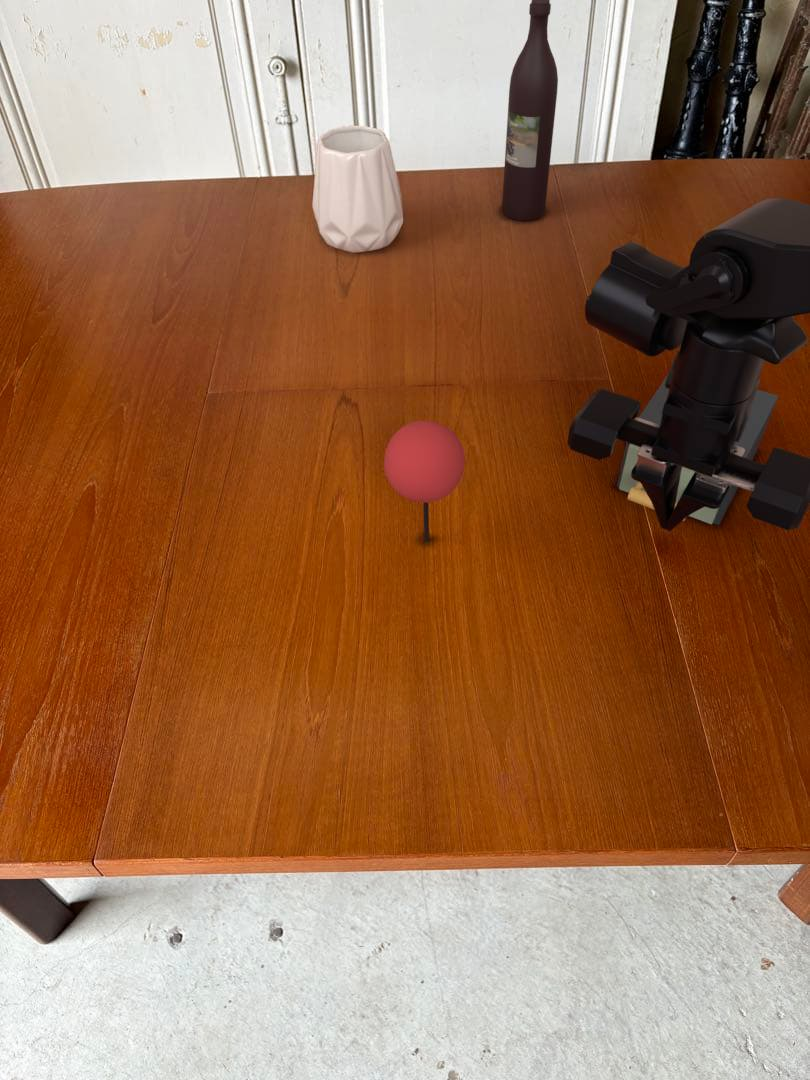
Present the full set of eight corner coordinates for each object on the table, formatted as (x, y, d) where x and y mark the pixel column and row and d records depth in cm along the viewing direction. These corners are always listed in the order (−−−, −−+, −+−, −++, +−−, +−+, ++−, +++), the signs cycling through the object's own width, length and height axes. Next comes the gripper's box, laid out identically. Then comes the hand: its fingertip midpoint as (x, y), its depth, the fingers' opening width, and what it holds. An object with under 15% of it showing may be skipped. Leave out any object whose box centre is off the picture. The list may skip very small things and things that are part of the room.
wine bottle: (496, 205, 136) (507, -4, 114) (536, 199, 137) (555, -10, 115) (509, 224, 131) (524, 11, 109) (551, 218, 132) (574, 5, 110)
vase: (298, 245, 129) (285, 147, 118) (348, 208, 137) (340, 112, 125) (372, 267, 124) (365, 167, 112) (420, 227, 132) (418, 130, 120)
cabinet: (718, 525, 87) (739, 470, 81) (616, 486, 91) (629, 431, 85) (756, 451, 94) (778, 395, 88) (660, 418, 99) (675, 363, 92)
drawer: (696, 553, 83) (712, 511, 78) (601, 515, 87) (610, 473, 82) (747, 455, 92) (764, 412, 88) (659, 425, 96) (671, 382, 92)
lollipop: (472, 525, 88) (477, 417, 77) (444, 575, 83) (445, 468, 72) (408, 505, 90) (404, 397, 79) (377, 553, 86) (368, 446, 74)
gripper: (873, 362, 60) (802, 508, 72) (633, 294, 67) (604, 437, 79) (836, 449, 54) (765, 594, 66) (577, 364, 61) (554, 508, 73)
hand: (667, 526), depth 71 cm, fingers closed
